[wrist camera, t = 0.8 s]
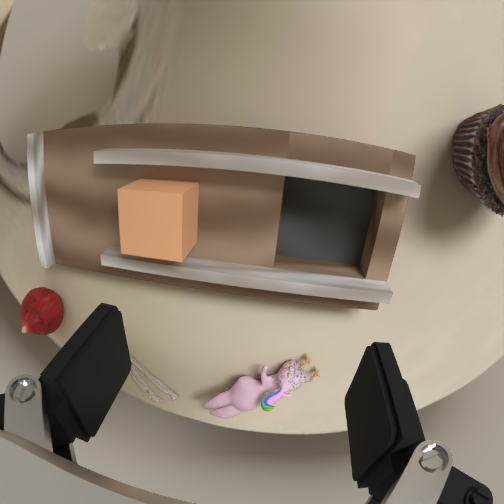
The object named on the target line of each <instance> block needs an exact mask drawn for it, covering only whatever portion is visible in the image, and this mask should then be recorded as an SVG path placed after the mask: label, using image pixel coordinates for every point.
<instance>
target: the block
mask: <svg viewBox="0 0 504 504" xmlns="http://www.w3.org/2000/svg"><path fill="white" fill-rule="evenodd" d="M117 190H118V214H119V230H120V243H121V254H128V255H135V256H141V257H148V258H155V259H162V260H169V261H176V262H183V260H184V259H185V258H186V256H187V255H188V254H189V252H190V251H191V249H192V248H193V247H194V245H195V244H196V242H197V224H198V195H199V182H190V181H176V180H161V179H143V178H141V179H139V180H137V181H134V182H132V183H130V184H128V185H125V186H123V187H121V188H119V189H117Z"/></svg>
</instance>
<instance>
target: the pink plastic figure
mask: <svg viewBox="0 0 504 504" xmlns="http://www.w3.org/2000/svg"><path fill="white" fill-rule="evenodd" d="M305 355H306V361H305V363H304V364H302V365H301V364H299V362H298V361H296V360H289V361H287V362H285V363H284V364H283V366H282V367H281V369H280V370H279V371H278V373H277V374H274V375H270V376H267V375H266V371H267V369H268V366H267V365H264V366H263V368H262V371H261V381H262V383H261V381H259V380H255V379H254V378H252V377H250V376H242V377H240V378H239V379H238V380H237V382H236V383H235V384H234V385H233V387H232V388H231V389H230V390H228V391H226V392H223V393H221V394H219V395H217V396H215V397H214V398H212V399H211V400H209V401H208V402H206V403H204V404H203V405H202V407H204V408H218V407H221V408H218V409H215V410H213V411H210V412H209V413H210V414H212V415H214V416H217V417H220V418H230V417H234V416H237V415H239V414H240V413H241V412H242V411H250V410H253V409H255V408H257V407H259V406H260V405H261V407H262V409H263V410H264V411H270V410H272V409H273V408H274V407H275V406H272V405H273V404H275V403H276V402H277V401H278V400H279V399H280V398H281V397H286V398H291V397H292V395H291V394H289V393H285V392H286V391H291V390H295V389H297V388H299V387H300V386H301V385H302V384H304V383H306V382H311V381H312V380H313V379H314V378H315V377H316V376H318V375H319V370H317V369H316V368H317V367H316V368H315V367H314V368H315V374H314V375H313V376H312V377H310V376H308V375H307V373H306V372H305V371H304V370H302V368H303V367H304V366H305V365H306V364H307V363H309V362H310V358H309V357H308V355H307V353H306V354H305ZM309 364H311V363H309ZM318 377H320V376H318ZM278 388H280V389H278ZM267 391H269V392H272V393H269V394H267V395H266V393H265V392H267ZM222 406H223V407H222Z"/></svg>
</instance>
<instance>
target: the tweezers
mask: <svg viewBox="0 0 504 504" xmlns="http://www.w3.org/2000/svg"><path fill="white" fill-rule="evenodd" d="M129 355H130V354H129ZM130 359H131V362H132V363H133V364H134V365H135V366H136V367H138V368H139V369H140V370H141V371H142V372H143V373H144V374H145V375H146V376H147V377H148V378H149V379H150V380H151V381H152V382H153V383H154V384H155V385H156V386H157V387H159V388H160V389H161V390H162V391H164V392H165V393H166V394H170V396H171V397H172V400H174V399H176V398H178V397H179V396H178V395H177V394H176V393H175V392H174V391H172V390H171V389H170V388H168V387H167V386H165V385H164V384H163V383H162V382H161V381H159V380H158V379H157V378H156V377H154V376H153V375H152V374H151V373H150V372H148V371H147V370H146V369H145V368H144V367H143V366H142V365H141V364H139V363H138V362H137V361H136V360H135V359H134V358H133V357H132V356H131V355H130ZM130 374H131V375H132V377H133V378H134V380H135V381H136V383H137V384H138V385H139V387H140V388H141V389H142V390H143V391H144V392H145V393H146V394H147V395H148V396H149V397H150V398H151V399H152V400H153V401H156V402H163V399H161V398H159V397H157V396H156V395H155V394H154V393H153V392H152V390H151V389H150V388H149V387H148V386H147V384H146V383H145V382H144V381H143V380H142V378H141V377H140V376H139V375H138V373H137V372H136V371H135V370H134V369H133V368H132V367H131V371H130ZM154 381H155V382H154ZM161 386H162V387H161ZM163 387H164V388H163ZM146 390H148V391H149V392H146Z"/></svg>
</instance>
